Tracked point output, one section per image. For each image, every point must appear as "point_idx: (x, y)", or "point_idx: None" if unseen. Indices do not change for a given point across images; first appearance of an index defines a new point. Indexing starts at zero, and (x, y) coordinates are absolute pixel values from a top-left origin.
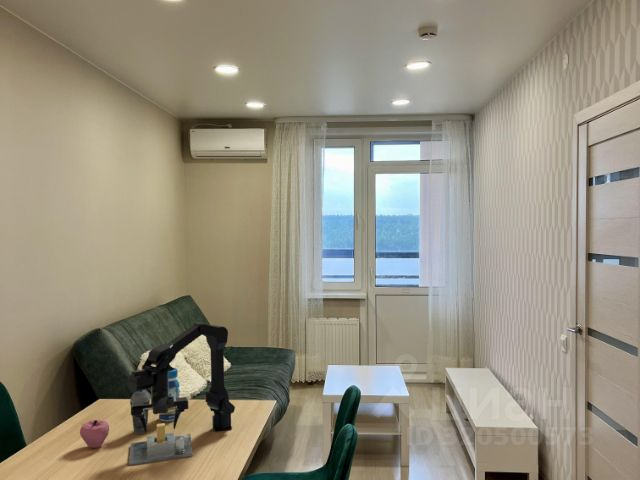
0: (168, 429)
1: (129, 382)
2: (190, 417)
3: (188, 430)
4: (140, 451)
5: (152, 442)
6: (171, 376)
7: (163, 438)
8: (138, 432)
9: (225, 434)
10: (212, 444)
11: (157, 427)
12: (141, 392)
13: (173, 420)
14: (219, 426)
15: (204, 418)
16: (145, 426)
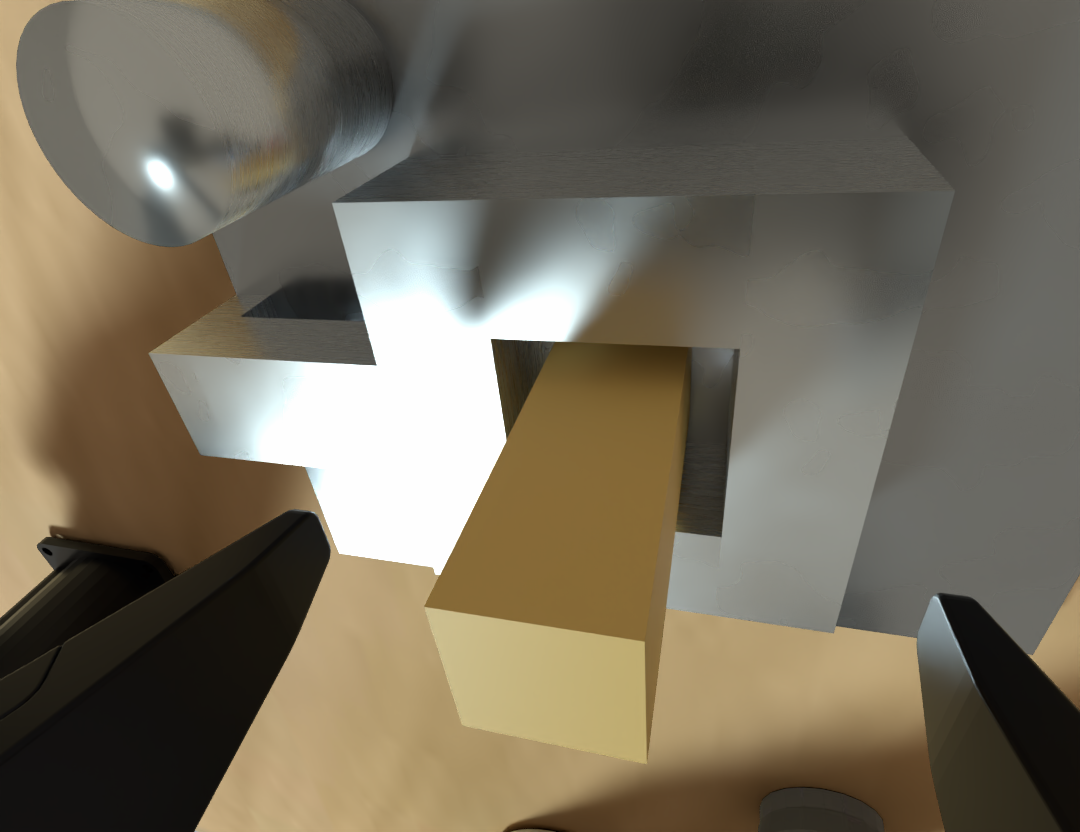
0: None
1: None
2: (423, 808)
3: (395, 663)
4: (981, 356)
5: (779, 367)
6: None
7: (553, 404)
8: (849, 811)
9: (53, 473)
10: (62, 300)
11: (632, 617)
12: None
13: (536, 829)
14: (108, 587)
15: (323, 759)
16: (1060, 771)
